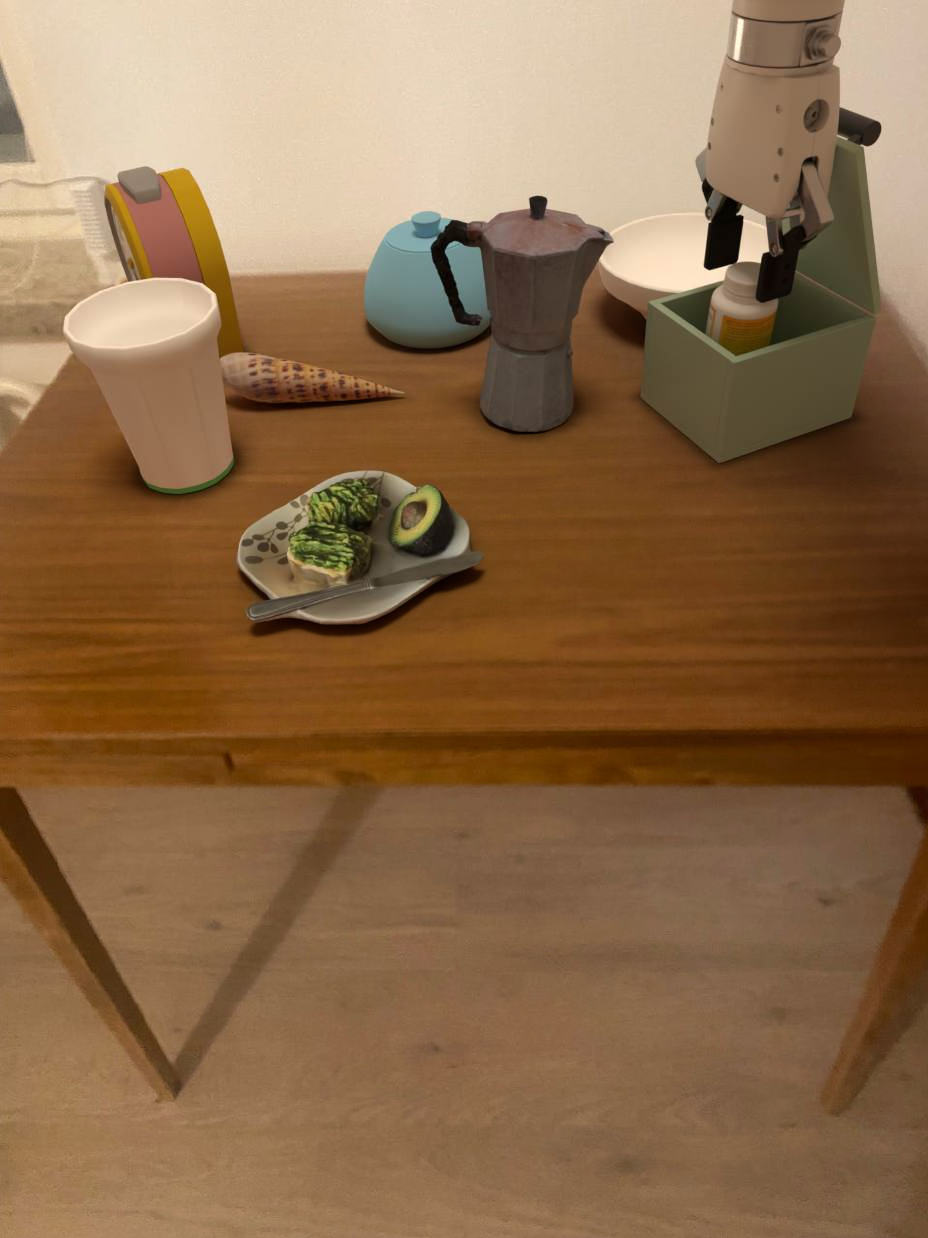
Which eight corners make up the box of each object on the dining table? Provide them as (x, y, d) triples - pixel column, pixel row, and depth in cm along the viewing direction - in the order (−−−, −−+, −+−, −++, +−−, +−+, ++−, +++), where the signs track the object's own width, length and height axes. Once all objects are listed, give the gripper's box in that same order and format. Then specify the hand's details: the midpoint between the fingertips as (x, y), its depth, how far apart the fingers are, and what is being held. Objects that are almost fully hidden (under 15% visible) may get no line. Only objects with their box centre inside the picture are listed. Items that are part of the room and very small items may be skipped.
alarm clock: (140, 327, 110) (87, 157, 97) (210, 308, 112) (167, 139, 99) (174, 385, 100) (119, 204, 87) (250, 363, 102) (208, 184, 89)
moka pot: (609, 435, 89) (621, 215, 75) (441, 441, 89) (423, 225, 76) (600, 380, 96) (609, 170, 82) (444, 387, 96) (428, 180, 82)
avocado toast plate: (317, 690, 68) (306, 644, 65) (184, 574, 78) (169, 530, 75) (511, 559, 77) (510, 513, 74) (370, 470, 87) (363, 426, 84)
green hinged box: (718, 463, 85) (734, 362, 78) (640, 397, 93) (647, 301, 86) (851, 417, 88) (877, 317, 82) (764, 358, 97) (781, 263, 90)
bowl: (700, 381, 94) (708, 312, 89) (557, 317, 106) (558, 253, 101) (817, 311, 103) (831, 245, 98) (674, 259, 114) (680, 197, 109)
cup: (92, 495, 86) (28, 338, 76) (168, 421, 95) (120, 270, 84) (212, 519, 83) (163, 357, 72) (280, 440, 91) (245, 284, 81)
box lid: (855, 152, 70) (911, 111, 70) (747, 107, 78) (797, 70, 78) (874, 315, 81) (923, 280, 81) (778, 260, 90) (822, 228, 90)
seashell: (231, 389, 98) (220, 344, 95) (408, 388, 97) (403, 342, 93) (220, 413, 95) (208, 367, 92) (403, 412, 93) (397, 365, 90)
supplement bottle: (773, 385, 87) (799, 278, 79) (722, 402, 85) (743, 295, 78) (735, 355, 90) (756, 250, 83) (685, 371, 89) (702, 265, 81)
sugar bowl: (422, 279, 114) (413, 178, 106) (529, 308, 107) (527, 202, 99) (338, 333, 106) (322, 227, 98) (448, 368, 99) (440, 257, 91)
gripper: (912, 56, 64) (852, 311, 76) (750, 7, 76) (721, 235, 88) (821, 77, 62) (775, 335, 74) (668, 23, 74) (650, 254, 86)
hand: (746, 279), depth 81 cm, fingers open, 6 cm apart
